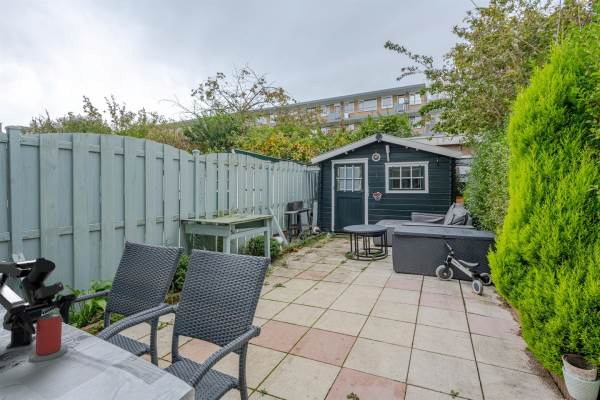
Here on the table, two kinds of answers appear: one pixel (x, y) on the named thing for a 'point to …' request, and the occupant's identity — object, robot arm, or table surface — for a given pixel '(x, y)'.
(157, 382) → the table surface
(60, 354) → the slate coaster
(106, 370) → the table surface
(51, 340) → the beer can
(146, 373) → the table surface
